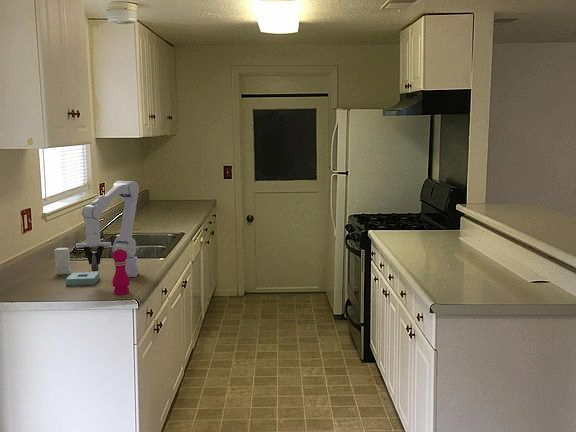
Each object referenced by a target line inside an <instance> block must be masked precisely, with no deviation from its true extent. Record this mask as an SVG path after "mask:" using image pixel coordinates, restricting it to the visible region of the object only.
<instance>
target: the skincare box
mask: <svg viewBox="0 0 576 432" xmlns="http://www.w3.org/2000/svg"><path fill="white" fill-rule="evenodd" d="M53 253H54V264H55V272H56V275H71V274H72V268H71V255H70V248H69V247H56V248H55V249H53Z"/></svg>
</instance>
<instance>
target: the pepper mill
mask: <svg viewBox="0 0 576 432" xmlns="http://www.w3.org/2000/svg"><path fill="white" fill-rule="evenodd" d="M117 249H118V250H115V251H114V252H113V251H112V255H111V257H112V259H113V265H114V266H115V271H114V275H113V277H112V281H111V284H112V286H113V288H114V289H113V294H114V295H118V296H123V295H128V294H130V288H129V286H130V285H131V280H130V277H128V275H127V273H126V270H125V265H126V261H125V260H126V259H127V253H126V251H125V250H122V247H121V246H118V247H117Z"/></svg>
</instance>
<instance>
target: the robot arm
mask: <svg viewBox="0 0 576 432" xmlns="http://www.w3.org/2000/svg"><path fill="white" fill-rule="evenodd" d="M112 186H113V187H111V189H110V190H108V192H106V193H105V194H103V195H98V196H97V198H96V199H94V200H93V201H92V202H91V203H90V204H87V205H85V206H84V207H83V208H82V211H81V216H82V219H83V222H84V223H85V236H86V237H85V240H86V241H85V242H76V244H75V249H80V248H82V249H83V253H84V255H85V257H86V259H87V261H88V265H91V252H92V248H96V252H97V256H98V265H100V264H101V259H102V255H103V252H104V250H105V248H111V249H112V253H113V252H114V251H115V250H118V249H117V247H118V246H121V247H122V250H125V251H126V253H127V259H126V260H125V261H126V265H125V270H126V273H127V275H128V277H129V278H137V276H138V274H139V259H138V256H135V255H136V253H137V241H136V240H135V238H133V231H134V230H133V229H134V224H135V223H134V222H135V218H136V217H135V216H136V210H137V205H138V204H137V203H138V198H139V190H140V186H139V184H138V182H136V181H134V180H132V181H130V180H116V181H115V182H114V183H113V185H112ZM117 197H119V198H120V199H122V200H123V201H124V205H123V213H122V220H121V226H120V232H119V235H118V236H117V237H116V238H115V239H114V242H113V245H112V242H111V241H101V231H100V230H101V228H100V218H101V217H102V215H103V212H104V211H105V210H106V209H107V208H108V207H110V205H111V202H112V200H114V199H116V198H117Z"/></svg>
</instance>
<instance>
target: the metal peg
mask: <svg viewBox="0 0 576 432" xmlns="http://www.w3.org/2000/svg"><path fill="white" fill-rule="evenodd" d="M90 267H91V268H90V269H91V272H99V268H100V267H99V264H98V256H97V251H91V264H90Z"/></svg>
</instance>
